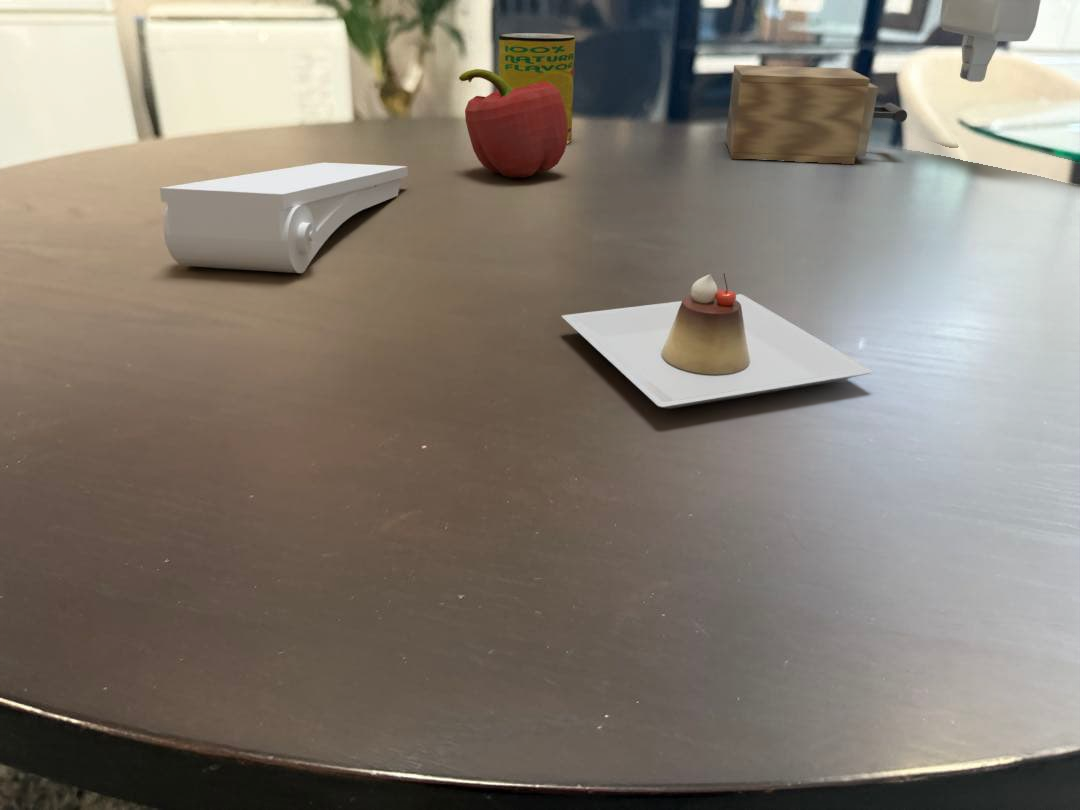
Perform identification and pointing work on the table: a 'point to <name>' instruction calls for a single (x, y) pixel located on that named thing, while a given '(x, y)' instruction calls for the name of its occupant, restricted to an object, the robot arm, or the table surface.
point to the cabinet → (796, 113)
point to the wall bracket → (270, 214)
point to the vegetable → (516, 126)
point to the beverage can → (539, 63)
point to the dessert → (711, 348)
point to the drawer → (876, 112)
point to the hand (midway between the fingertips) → (971, 80)
